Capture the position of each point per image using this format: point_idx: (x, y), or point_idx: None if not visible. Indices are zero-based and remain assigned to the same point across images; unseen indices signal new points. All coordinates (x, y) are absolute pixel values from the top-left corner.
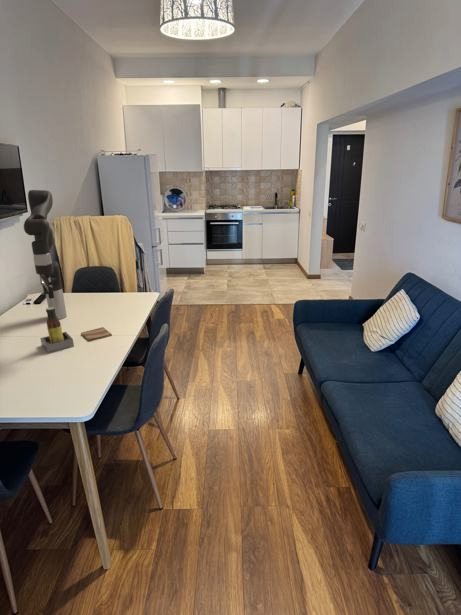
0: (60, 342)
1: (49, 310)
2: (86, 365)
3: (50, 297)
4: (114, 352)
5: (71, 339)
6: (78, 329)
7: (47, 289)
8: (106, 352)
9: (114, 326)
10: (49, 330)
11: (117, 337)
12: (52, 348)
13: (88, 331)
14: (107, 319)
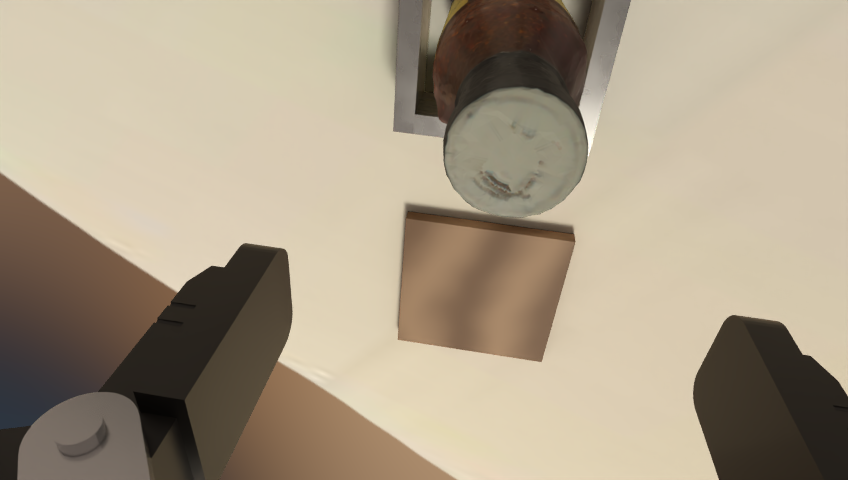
0: (399, 25)
1: (454, 114)
2: (41, 31)
3: (202, 274)
4: (156, 231)
5: (394, 119)
6: (683, 262)
7: (65, 452)
8: (179, 203)
9: (521, 400)
10: None
11: (352, 335)
12: None
13: (550, 280)
14: (664, 431)
